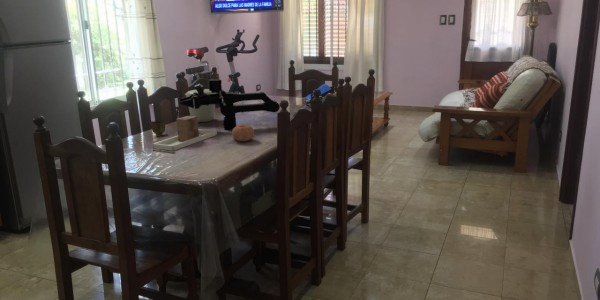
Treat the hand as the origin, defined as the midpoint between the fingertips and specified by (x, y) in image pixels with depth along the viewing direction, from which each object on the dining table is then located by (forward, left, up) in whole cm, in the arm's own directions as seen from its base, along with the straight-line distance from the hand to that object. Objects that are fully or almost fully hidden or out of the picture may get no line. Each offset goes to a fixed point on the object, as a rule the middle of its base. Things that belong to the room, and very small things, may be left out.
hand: (179, 101), depth 249 cm
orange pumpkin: (-29, +30, -17) cm, 45 cm away
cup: (+12, +6, -17) cm, 21 cm away
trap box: (-2, +27, -17) cm, 32 cm away
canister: (-11, -28, -17) cm, 35 cm away
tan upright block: (-3, +26, -15) cm, 30 cm away
